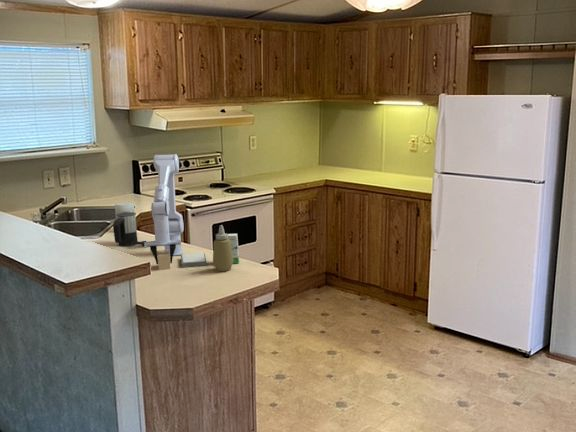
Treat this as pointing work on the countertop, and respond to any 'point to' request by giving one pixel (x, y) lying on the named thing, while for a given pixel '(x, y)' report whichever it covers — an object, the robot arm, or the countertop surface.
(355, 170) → the countertop surface
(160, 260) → the carton
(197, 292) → the countertop surface
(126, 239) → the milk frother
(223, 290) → the countertop surface
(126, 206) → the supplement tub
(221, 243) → the squeeze bottle
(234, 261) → the ink box
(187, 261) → the grey picture frame
